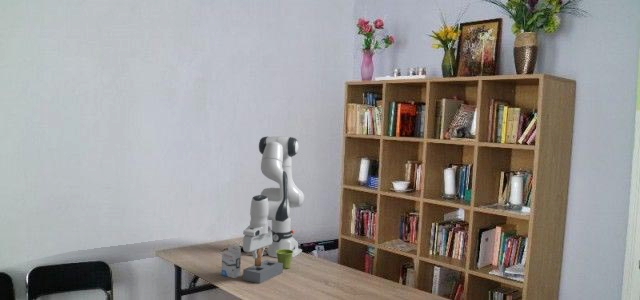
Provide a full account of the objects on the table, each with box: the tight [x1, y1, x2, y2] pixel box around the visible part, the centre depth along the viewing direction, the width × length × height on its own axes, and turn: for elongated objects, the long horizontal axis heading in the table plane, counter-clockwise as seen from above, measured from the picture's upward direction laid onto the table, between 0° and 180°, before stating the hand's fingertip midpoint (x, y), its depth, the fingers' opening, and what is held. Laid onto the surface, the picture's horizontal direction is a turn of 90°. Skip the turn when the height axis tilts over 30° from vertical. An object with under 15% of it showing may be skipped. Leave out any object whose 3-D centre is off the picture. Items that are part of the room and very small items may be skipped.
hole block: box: [242, 259, 284, 284], centre depth 235 cm, size 20×10×5 cm, turn 152°
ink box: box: [221, 243, 242, 279], centre depth 234 cm, size 8×5×15 cm, turn 60°
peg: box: [254, 248, 262, 267], centre depth 230 cm, size 3×3×9 cm
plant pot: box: [276, 249, 293, 270], centre depth 250 cm, size 9×9×9 cm
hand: (258, 257), depth 230 cm, fingers closed on peg, 3 cm apart
